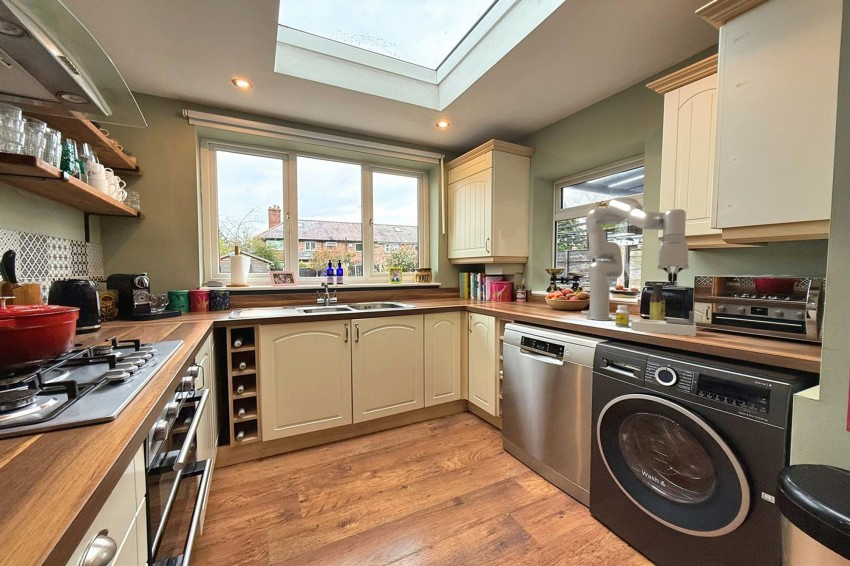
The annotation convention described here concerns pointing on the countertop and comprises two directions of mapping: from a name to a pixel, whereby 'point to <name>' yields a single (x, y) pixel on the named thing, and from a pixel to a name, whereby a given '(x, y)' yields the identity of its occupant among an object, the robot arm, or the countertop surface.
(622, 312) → the supplement bottle
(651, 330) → the holder
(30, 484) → the countertop surface
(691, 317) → the grey l-shaped bracket
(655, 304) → the sauce bottle
